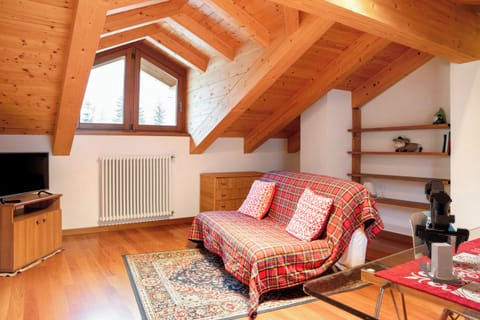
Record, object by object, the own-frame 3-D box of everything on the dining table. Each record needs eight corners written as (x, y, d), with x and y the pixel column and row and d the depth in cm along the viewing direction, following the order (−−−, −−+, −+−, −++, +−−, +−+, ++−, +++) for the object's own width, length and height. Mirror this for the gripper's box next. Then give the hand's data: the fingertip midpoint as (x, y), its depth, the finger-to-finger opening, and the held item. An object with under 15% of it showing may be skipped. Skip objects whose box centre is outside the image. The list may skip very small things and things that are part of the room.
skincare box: (445, 272, 134) (446, 242, 134) (452, 276, 130) (453, 245, 129) (430, 272, 134) (431, 242, 133) (437, 277, 130) (438, 246, 129)
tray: (418, 265, 146) (418, 254, 145) (441, 267, 144) (441, 256, 144) (433, 282, 128) (433, 269, 128) (459, 284, 126) (459, 271, 126)
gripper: (415, 204, 141) (415, 237, 131) (469, 208, 133) (473, 244, 123) (414, 219, 148) (414, 252, 139) (465, 224, 140) (469, 258, 131)
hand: (442, 251), depth 133 cm, fingers open, 9 cm apart
